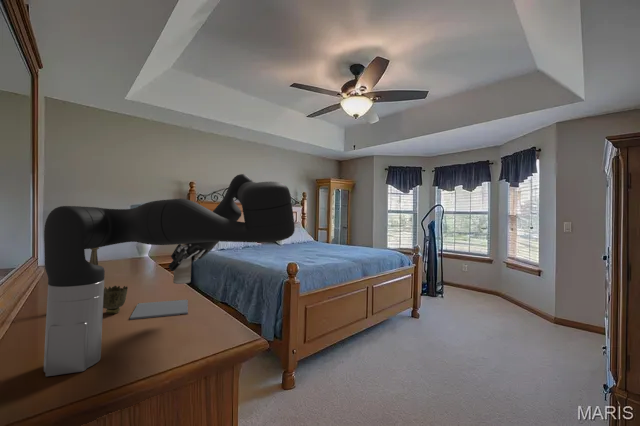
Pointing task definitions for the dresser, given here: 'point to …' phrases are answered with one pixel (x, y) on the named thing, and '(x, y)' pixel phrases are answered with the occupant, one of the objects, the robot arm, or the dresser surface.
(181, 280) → the cream peg
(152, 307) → the slate mat
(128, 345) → the dresser surface
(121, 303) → the cup
